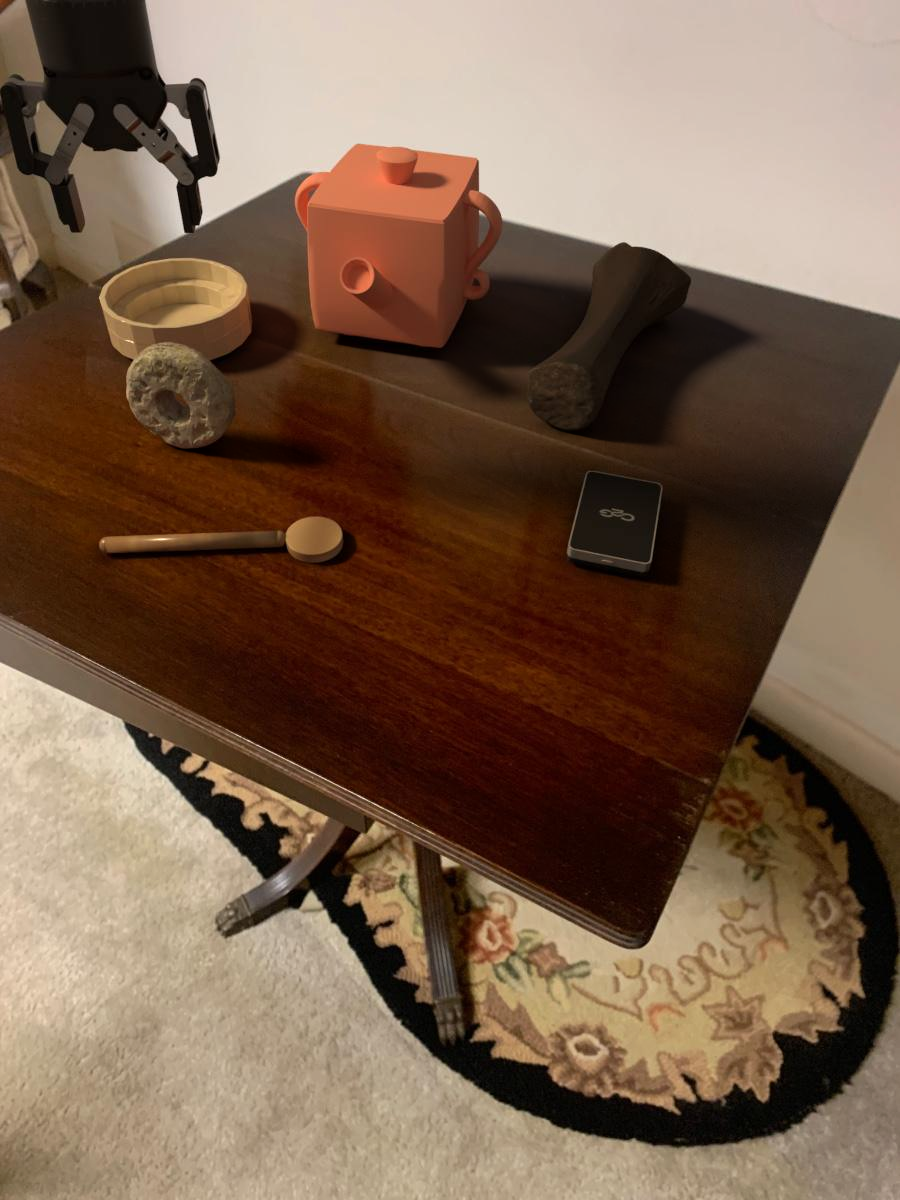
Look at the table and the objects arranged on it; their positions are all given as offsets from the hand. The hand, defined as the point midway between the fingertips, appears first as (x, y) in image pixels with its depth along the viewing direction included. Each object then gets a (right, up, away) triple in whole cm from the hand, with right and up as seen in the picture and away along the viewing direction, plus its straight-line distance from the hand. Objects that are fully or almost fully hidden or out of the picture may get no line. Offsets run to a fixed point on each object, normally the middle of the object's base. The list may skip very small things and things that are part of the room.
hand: (135, 229), depth 69 cm
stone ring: (0, -14, +15) cm, 21 cm away
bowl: (-5, +1, +29) cm, 29 cm away
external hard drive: (+39, -23, +9) cm, 46 cm away
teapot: (+18, +1, +31) cm, 36 cm away
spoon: (+6, -25, +5) cm, 26 cm away
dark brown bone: (+42, -4, +27) cm, 50 cm away
